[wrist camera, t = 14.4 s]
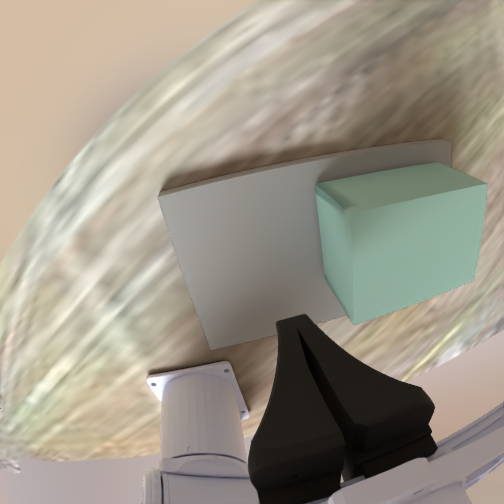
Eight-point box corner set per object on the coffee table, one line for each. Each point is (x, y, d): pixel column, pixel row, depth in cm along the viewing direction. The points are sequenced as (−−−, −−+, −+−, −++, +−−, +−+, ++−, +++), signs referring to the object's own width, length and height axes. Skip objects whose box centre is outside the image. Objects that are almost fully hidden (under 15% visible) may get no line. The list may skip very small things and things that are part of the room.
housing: (433, 247, 24) (474, 280, 19) (324, 279, 23) (353, 325, 18) (437, 162, 20) (487, 183, 15) (314, 184, 20) (350, 213, 15)
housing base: (435, 276, 27) (458, 297, 24) (210, 340, 26) (212, 373, 23) (442, 138, 21) (474, 148, 18) (159, 191, 20) (151, 211, 17)
